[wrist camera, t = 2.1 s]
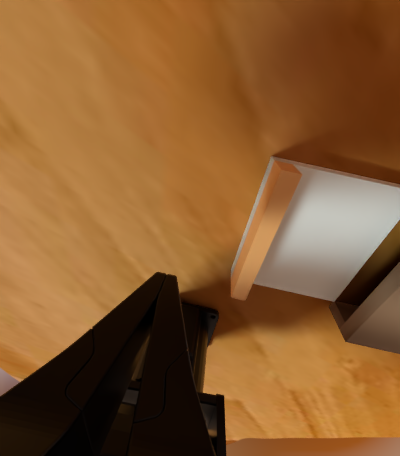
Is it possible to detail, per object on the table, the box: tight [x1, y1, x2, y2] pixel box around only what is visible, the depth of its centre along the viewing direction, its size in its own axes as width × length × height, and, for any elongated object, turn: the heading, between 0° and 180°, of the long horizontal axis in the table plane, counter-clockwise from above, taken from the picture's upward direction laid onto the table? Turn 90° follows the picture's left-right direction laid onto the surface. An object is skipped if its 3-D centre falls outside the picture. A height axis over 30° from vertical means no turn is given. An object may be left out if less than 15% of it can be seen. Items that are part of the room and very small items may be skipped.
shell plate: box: [231, 156, 400, 302], centre depth 14 cm, size 9×8×3 cm
